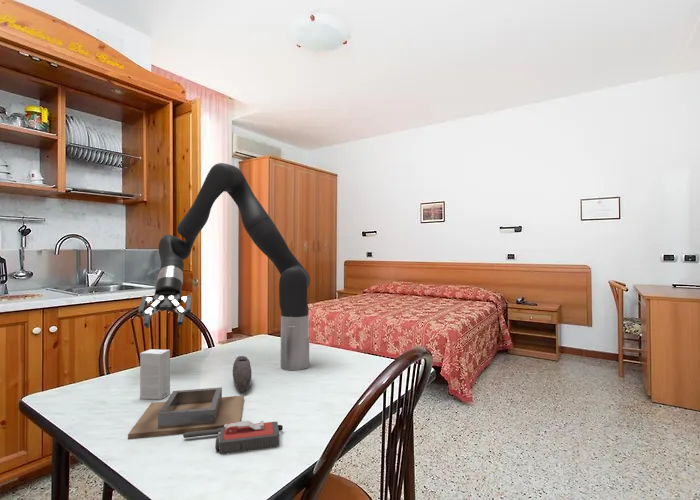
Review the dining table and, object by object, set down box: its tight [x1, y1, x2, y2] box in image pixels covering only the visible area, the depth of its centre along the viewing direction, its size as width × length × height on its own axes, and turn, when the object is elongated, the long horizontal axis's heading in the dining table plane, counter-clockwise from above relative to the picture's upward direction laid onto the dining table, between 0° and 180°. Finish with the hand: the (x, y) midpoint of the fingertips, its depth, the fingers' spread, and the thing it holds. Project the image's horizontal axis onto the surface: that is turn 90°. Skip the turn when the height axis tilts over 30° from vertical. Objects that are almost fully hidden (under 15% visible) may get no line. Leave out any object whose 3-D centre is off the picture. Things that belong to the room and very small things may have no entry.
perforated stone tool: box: [232, 355, 252, 392], centre depth 106 cm, size 15×5×7 cm, turn 17°
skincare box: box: [139, 348, 171, 400], centre depth 98 cm, size 6×4×12 cm
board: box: [127, 395, 245, 440], centre depth 86 cm, size 22×16×1 cm
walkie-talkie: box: [183, 420, 284, 455], centre depth 75 cm, size 9×4×20 cm
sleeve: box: [158, 386, 223, 429], centre depth 86 cm, size 11×13×3 cm
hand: (163, 325), depth 110 cm, fingers open, 8 cm apart
